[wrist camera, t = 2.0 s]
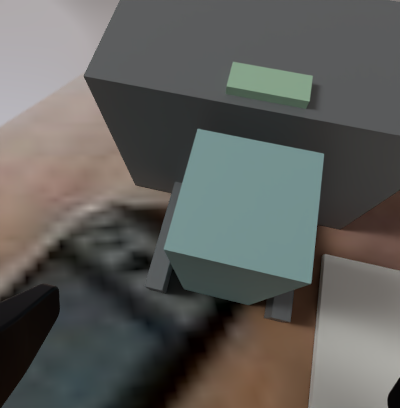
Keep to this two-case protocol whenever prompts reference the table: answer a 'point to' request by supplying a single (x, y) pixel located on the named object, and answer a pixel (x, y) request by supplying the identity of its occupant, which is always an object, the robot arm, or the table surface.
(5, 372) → the robot arm
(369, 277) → the mat
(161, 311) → the table surface
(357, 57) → the charging dock
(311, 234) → the key block
